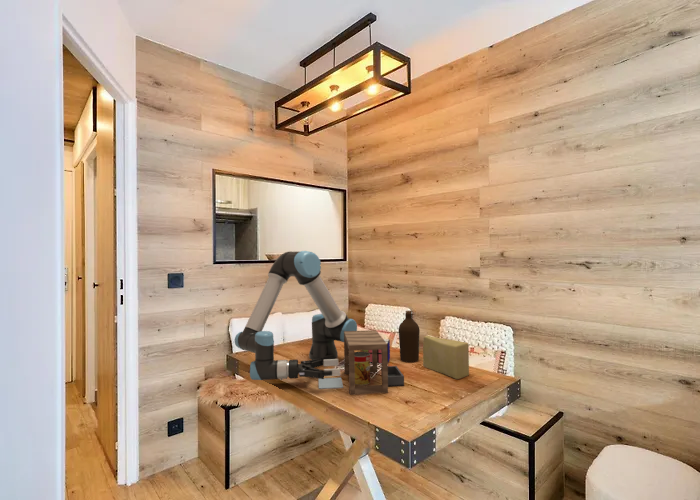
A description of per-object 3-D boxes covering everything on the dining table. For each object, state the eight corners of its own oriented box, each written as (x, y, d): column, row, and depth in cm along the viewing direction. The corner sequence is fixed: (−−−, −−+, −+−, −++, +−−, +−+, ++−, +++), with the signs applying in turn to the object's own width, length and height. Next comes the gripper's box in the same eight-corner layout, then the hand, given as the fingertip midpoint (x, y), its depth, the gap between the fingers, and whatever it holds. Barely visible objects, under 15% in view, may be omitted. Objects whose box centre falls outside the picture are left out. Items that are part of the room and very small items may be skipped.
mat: (318, 379, 163) (318, 378, 163) (341, 378, 163) (341, 377, 163) (318, 389, 151) (318, 388, 151) (343, 388, 152) (343, 387, 152)
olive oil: (404, 363, 183) (403, 313, 183) (395, 358, 193) (394, 310, 194) (423, 361, 186) (423, 311, 187) (414, 356, 196) (413, 308, 197)
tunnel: (344, 372, 171) (343, 331, 171) (376, 371, 173) (376, 330, 173) (350, 394, 144) (349, 345, 144) (388, 392, 146) (387, 344, 146)
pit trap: (381, 375, 166) (381, 366, 166) (396, 374, 167) (396, 365, 167) (387, 386, 152) (387, 376, 152) (404, 385, 153) (404, 376, 153)
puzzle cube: (388, 364, 184) (387, 343, 184) (368, 363, 186) (367, 343, 186) (390, 358, 194) (389, 339, 194) (371, 357, 196) (370, 338, 196)
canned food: (372, 384, 155) (372, 355, 155) (354, 386, 153) (353, 357, 154) (367, 378, 163) (366, 350, 163) (349, 380, 161) (349, 352, 161)
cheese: (417, 368, 176) (416, 336, 176) (430, 364, 182) (429, 333, 182) (456, 380, 159) (456, 345, 159) (470, 375, 165) (469, 341, 165)
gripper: (290, 369, 168) (337, 367, 169) (286, 388, 143) (341, 386, 145) (290, 352, 168) (337, 350, 169) (285, 369, 143) (340, 367, 145)
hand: (339, 367), depth 157 cm, fingers open, 13 cm apart
